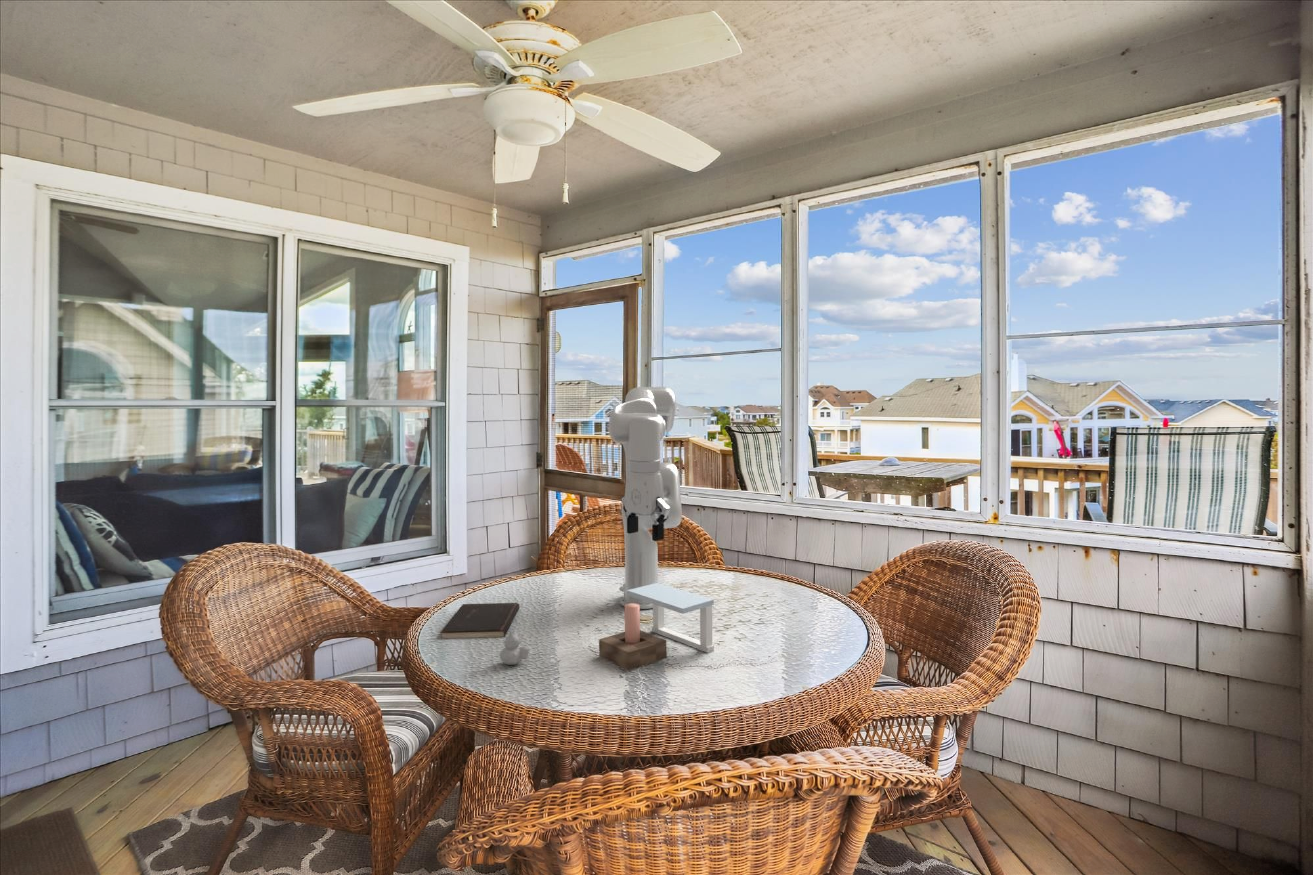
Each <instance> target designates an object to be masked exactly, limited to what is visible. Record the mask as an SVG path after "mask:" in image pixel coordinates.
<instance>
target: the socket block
mask: <svg viewBox="0 0 1313 875" xmlns="http://www.w3.org/2000/svg"><path fill="white" fill-rule="evenodd" d="M598 643H599V644H598V648H599V649H598V651H599V652H598V654H599V655H598V657H600V658H602V659H604V660H605V661H608V662H610V663H612V664H615V665H616V666H619V667H620V668H622V669H625V670H627V671H632V670H635V669H638V668H641V667H644V666H647V665H650V664H652V663H654V662H655V663H656V662H658V661H660V660H664V659H666V658H668V657H667V640H666V639H664V638H661V637H659V636H656V635H654V634H651V633H649V632H647V631H643V630H641V629H640V642H639V643H636V644H633V645H630V644H628V643H625V631H623V632H619V633H616V634H613V635H608V636H606V637H603V638H599V639H598Z"/></svg>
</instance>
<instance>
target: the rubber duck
mask: <svg viewBox="0 0 1313 875" xmlns="http://www.w3.org/2000/svg"><path fill="white" fill-rule="evenodd" d="M503 644H504V648H503V649H501V651H500V653H499V657H500V660H501V661H502V663H503V664H505V665H509V666H513V665H514V666H515V665H517V664H519V663H521V661H522V660H527V659H528V658H530V657H529V652H530V647H529V646H526V645H524V646H521V645H520V644H521V639H520V638H519V635H517V633H516V632H515V631H512V629H511V628H509V634H507V636H506V639H505V640H504V641H503Z"/></svg>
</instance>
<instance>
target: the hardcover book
mask: <svg viewBox="0 0 1313 875" xmlns="http://www.w3.org/2000/svg"><path fill="white" fill-rule="evenodd" d="M519 610H520V603H518V602H500V603H499V602H495V603H493V602H492V603H489V602H487V603H463V604H461V606H460V607H459V608H458V609H457V611H455V613H454V614H453V615H452V617H451V618H450V619H449V621H448V622H447V623H446V624H445V625H444V627H443V628H442V629H441V630H440V632H439V634H441V639H459V638H461V639H462V638H464V639H465V638H466V639H467V638H469V639H470V638H499V637H500V638H502V637H503V638H505V637H506V635H507V634H508V631H509V630H510V627H511V626H512V623H513V622H514V620H515V617H516V615H517V614H518V612H519Z"/></svg>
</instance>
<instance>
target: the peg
mask: <svg viewBox="0 0 1313 875" xmlns="http://www.w3.org/2000/svg"><path fill="white" fill-rule="evenodd" d="M640 610H641V609H640V605H639V604H634V603H631V604H626V605H625V607H624V632H625V643H628V644H630V645H633V644H636V643H639V642H640V630H641V623H640V622H641V620H640V619H641V618H640V614H641V613H640Z"/></svg>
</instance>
